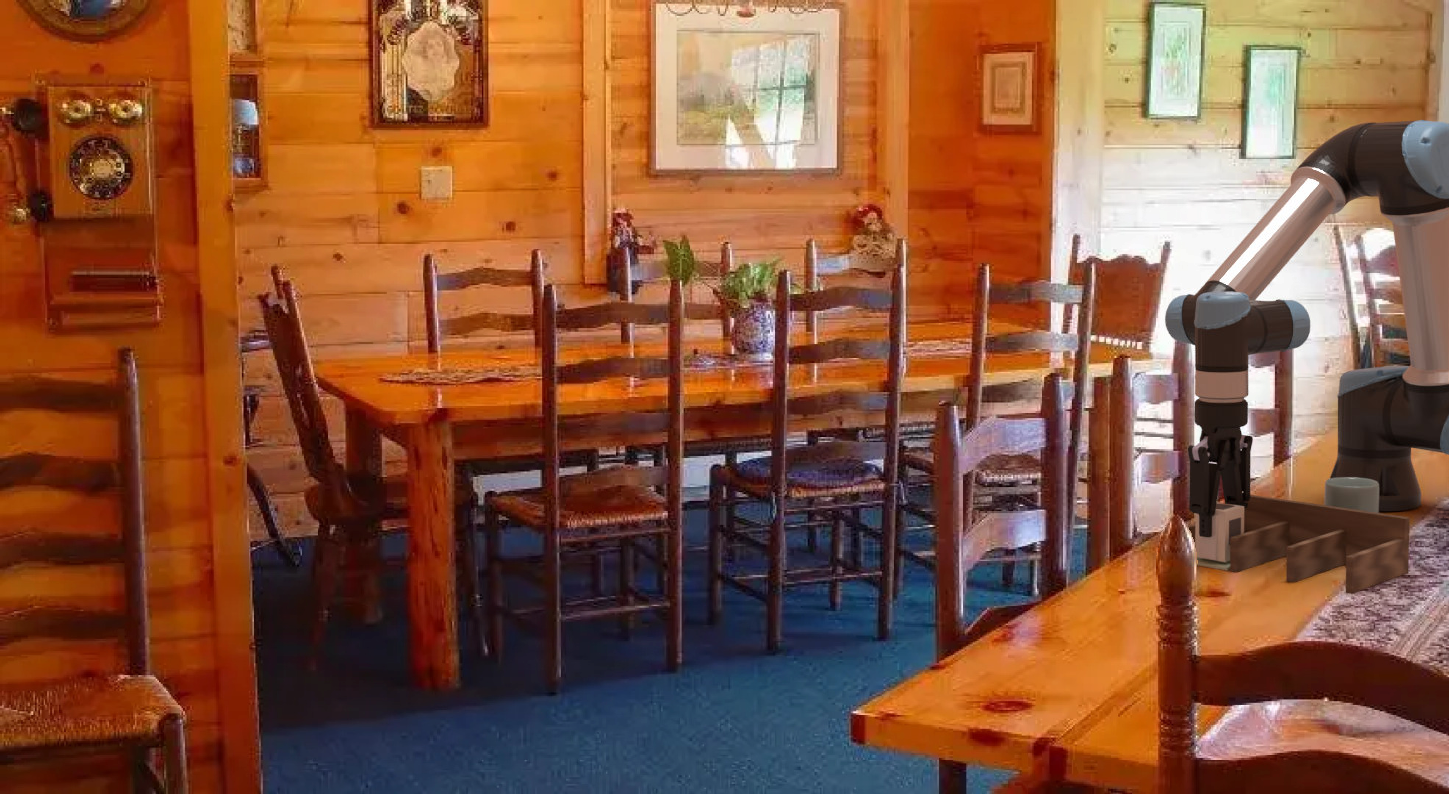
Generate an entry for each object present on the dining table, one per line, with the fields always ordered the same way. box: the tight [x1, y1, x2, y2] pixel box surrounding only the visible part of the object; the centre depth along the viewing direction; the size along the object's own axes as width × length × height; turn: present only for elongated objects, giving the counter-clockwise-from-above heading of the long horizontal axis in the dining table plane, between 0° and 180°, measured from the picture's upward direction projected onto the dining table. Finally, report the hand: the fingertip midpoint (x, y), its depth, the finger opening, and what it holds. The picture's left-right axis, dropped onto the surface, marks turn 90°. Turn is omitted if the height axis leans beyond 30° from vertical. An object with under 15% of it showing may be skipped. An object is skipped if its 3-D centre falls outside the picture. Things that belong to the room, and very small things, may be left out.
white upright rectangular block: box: [1194, 501, 1244, 562], centre depth 258 cm, size 5×5×8 cm
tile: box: [1197, 557, 1230, 571], centre depth 260 cm, size 10×7×1 cm
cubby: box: [1187, 494, 1411, 594], centre depth 254 cm, size 16×28×8 cm, turn 42°
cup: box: [1323, 477, 1380, 513], centre depth 266 cm, size 8×8×10 cm
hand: (1219, 554), depth 259 cm, fingers closed on white upright rectangular block, 5 cm apart
